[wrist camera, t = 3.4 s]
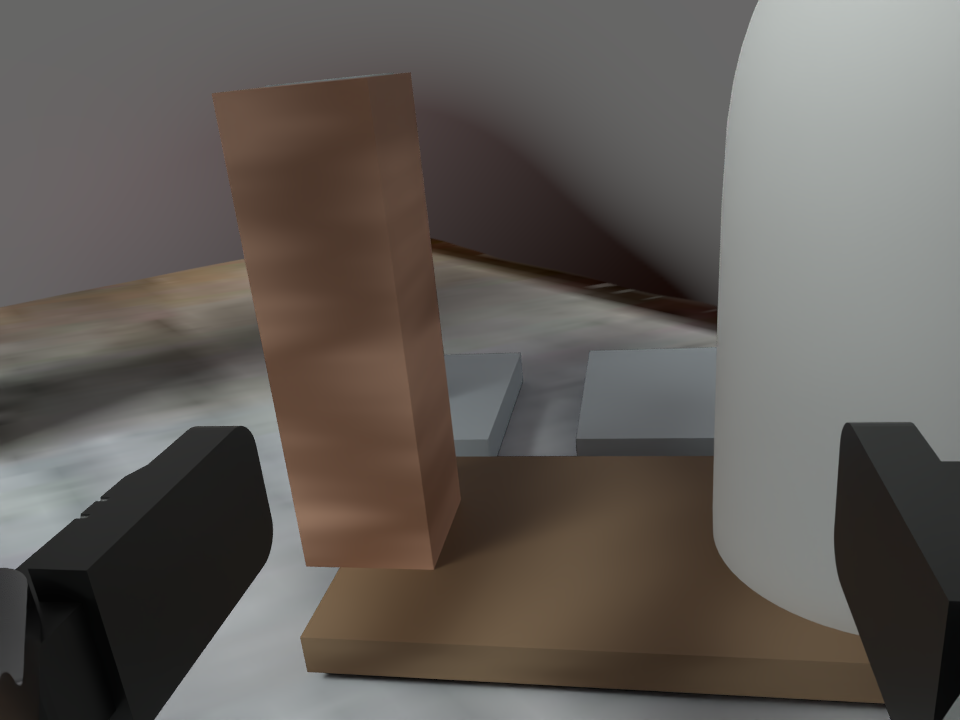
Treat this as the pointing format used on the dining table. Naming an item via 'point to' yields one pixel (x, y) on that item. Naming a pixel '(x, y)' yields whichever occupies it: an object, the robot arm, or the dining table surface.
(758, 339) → the milk bottle
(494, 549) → the wooden bookend
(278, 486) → the dining table surface
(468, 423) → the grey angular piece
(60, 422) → the dining table surface
